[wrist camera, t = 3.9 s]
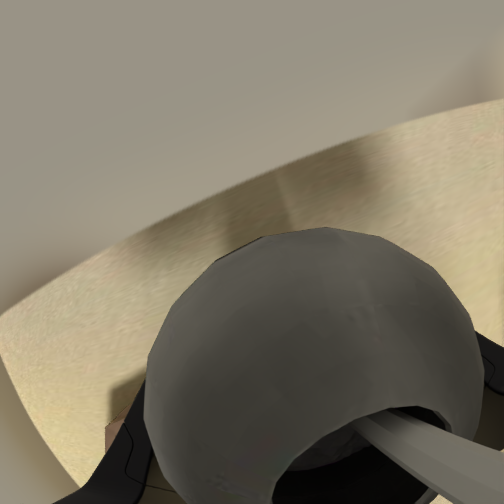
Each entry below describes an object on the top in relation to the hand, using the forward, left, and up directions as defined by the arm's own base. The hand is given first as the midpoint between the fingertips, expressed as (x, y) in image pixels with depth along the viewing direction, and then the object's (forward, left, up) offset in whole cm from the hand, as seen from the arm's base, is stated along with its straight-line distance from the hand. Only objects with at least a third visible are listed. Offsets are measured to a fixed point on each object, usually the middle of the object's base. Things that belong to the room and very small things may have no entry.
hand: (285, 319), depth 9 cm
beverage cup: (-1, -1, -9) cm, 9 cm away
